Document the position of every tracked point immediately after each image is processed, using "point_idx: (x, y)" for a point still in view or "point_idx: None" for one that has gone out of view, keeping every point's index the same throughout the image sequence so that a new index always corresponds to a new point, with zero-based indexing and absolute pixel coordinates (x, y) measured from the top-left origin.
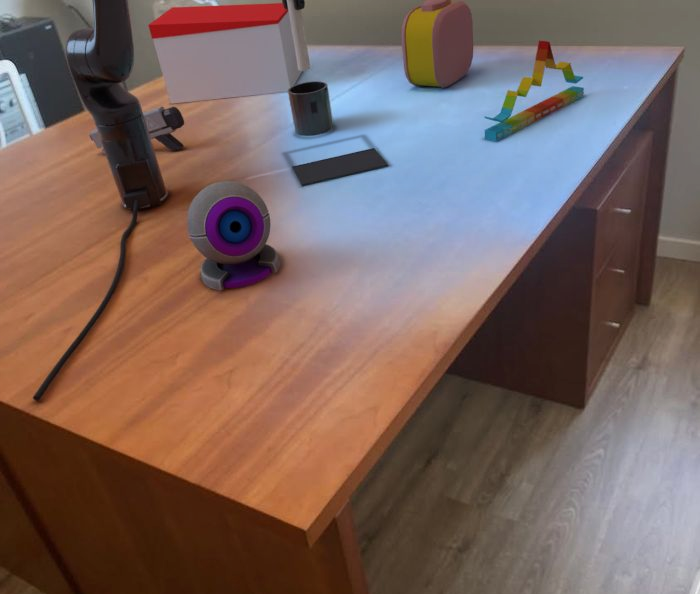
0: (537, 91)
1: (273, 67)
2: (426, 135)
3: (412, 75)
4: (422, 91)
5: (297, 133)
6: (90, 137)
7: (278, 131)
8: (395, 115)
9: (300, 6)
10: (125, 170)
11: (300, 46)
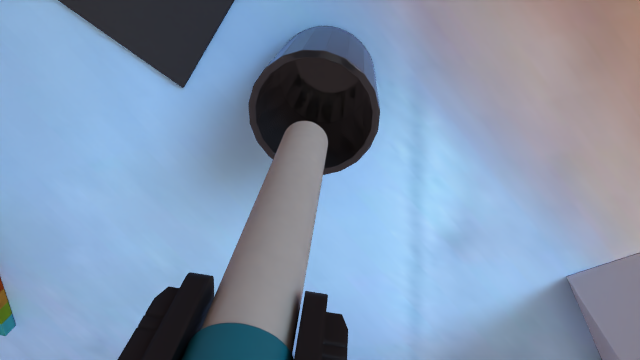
0: (72, 330)
1: (636, 313)
2: (63, 128)
3: None
4: None
5: (341, 30)
6: None
7: (429, 45)
8: (209, 204)
9: (166, 293)
10: None
11: (273, 166)
